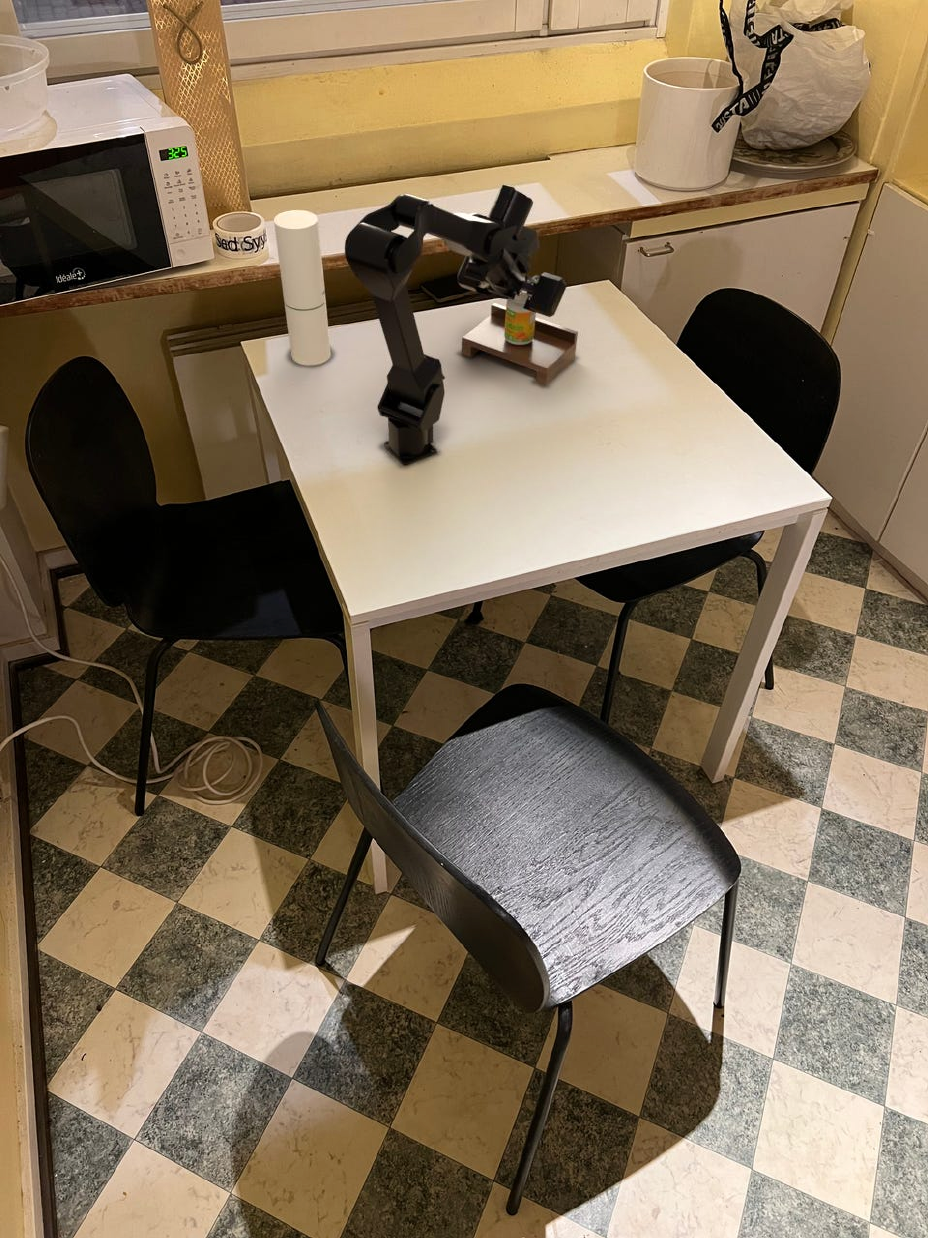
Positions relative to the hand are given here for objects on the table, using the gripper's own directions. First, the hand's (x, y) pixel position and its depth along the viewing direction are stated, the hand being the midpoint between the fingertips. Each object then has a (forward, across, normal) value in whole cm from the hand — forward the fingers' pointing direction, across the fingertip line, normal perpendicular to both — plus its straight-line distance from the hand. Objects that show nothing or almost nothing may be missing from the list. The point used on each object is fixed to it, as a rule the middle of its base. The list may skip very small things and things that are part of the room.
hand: (525, 301), depth 162 cm
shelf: (+7, 0, +8) cm, 11 cm away
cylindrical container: (-8, +32, +24) cm, 40 cm away
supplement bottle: (+4, 0, +6) cm, 7 cm away
